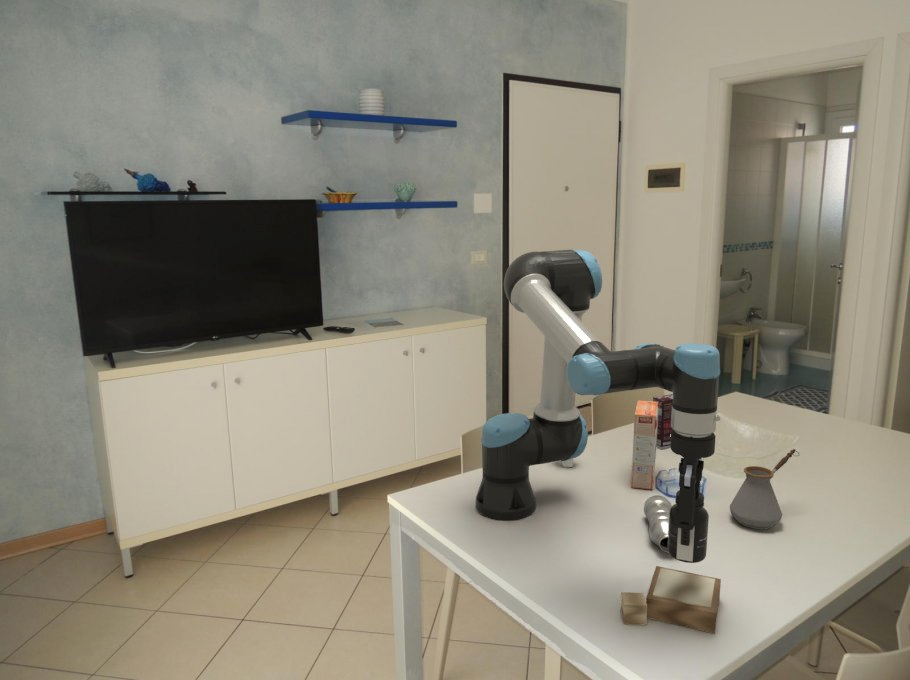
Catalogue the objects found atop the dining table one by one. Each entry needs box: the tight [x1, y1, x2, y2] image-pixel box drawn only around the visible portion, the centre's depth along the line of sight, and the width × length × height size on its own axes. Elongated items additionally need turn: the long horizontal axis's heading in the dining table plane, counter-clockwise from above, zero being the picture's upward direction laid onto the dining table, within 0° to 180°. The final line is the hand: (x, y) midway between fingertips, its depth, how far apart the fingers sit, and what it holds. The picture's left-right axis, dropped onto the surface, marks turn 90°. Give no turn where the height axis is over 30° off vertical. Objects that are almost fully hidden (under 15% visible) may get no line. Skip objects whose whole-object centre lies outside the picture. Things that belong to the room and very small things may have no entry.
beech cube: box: [620, 591, 648, 626], centre depth 122 cm, size 4×4×4 cm
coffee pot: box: [729, 448, 801, 530], centre depth 160 cm, size 21×12×15 cm, turn 124°
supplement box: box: [652, 393, 673, 450], centre depth 208 cm, size 9×5×16 cm, turn 114°
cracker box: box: [630, 400, 658, 491], centre depth 182 cm, size 14×6×21 cm, turn 161°
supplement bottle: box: [667, 489, 710, 564], centre depth 122 cm, size 7×7×12 cm
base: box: [645, 565, 722, 634], centre depth 125 cm, size 12×12×4 cm
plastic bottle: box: [643, 494, 673, 553], centre depth 152 cm, size 6×7×20 cm
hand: (686, 549), depth 123 cm, fingers closed on supplement bottle, 7 cm apart
